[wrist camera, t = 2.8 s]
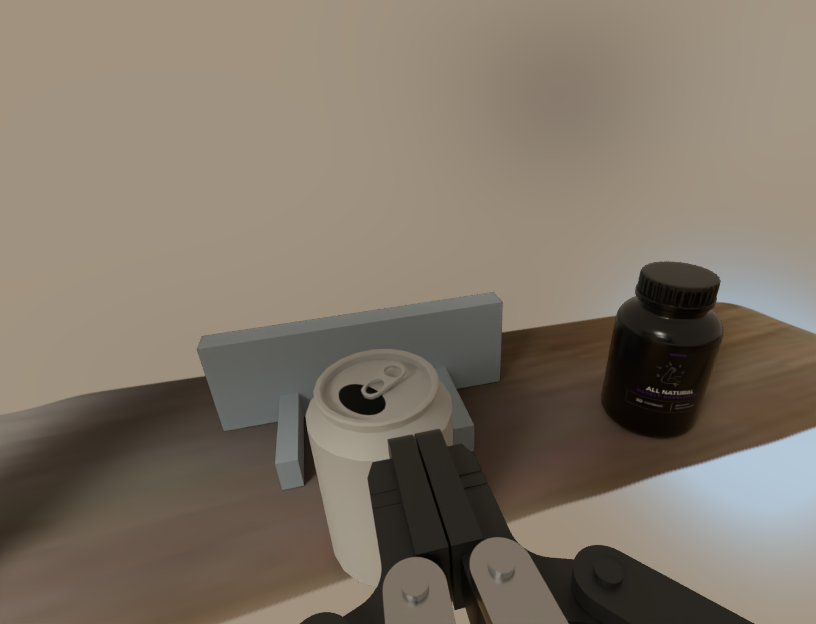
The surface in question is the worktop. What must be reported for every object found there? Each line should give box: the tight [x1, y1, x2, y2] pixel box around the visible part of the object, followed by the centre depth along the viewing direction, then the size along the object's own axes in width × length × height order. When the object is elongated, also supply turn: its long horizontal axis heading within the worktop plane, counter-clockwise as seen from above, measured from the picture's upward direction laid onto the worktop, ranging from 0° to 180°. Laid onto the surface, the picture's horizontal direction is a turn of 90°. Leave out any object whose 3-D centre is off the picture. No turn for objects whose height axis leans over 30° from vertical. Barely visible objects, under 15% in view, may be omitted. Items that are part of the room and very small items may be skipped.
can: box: [305, 349, 453, 588], centre depth 25 cm, size 8×8×12 cm
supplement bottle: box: [601, 261, 723, 438], centre depth 34 cm, size 7×7×12 cm
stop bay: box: [197, 292, 503, 490], centre depth 35 cm, size 24×10×8 cm, turn 102°
